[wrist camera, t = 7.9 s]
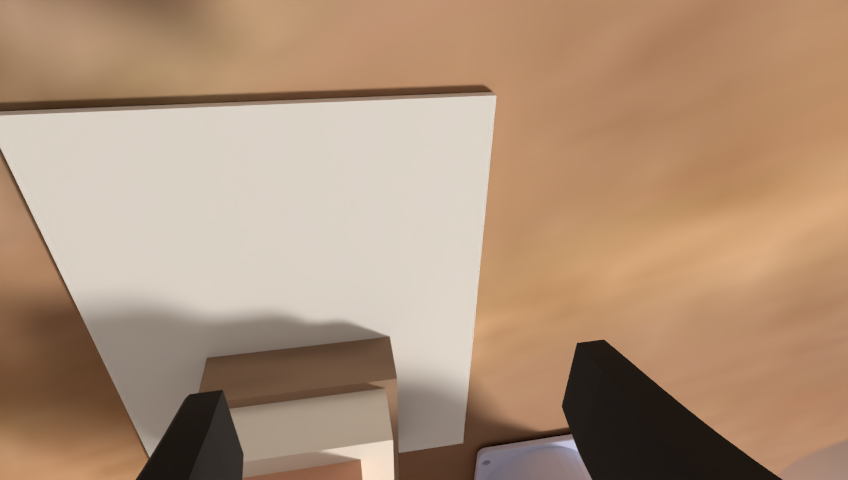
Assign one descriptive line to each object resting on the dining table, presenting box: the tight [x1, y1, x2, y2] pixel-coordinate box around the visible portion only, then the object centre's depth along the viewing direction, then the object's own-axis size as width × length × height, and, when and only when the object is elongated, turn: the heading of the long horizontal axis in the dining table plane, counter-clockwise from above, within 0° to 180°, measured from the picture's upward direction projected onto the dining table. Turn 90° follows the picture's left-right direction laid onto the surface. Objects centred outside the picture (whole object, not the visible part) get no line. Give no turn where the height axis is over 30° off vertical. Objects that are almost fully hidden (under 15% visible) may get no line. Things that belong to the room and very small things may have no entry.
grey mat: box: [0, 92, 496, 457], centre depth 22 cm, size 20×16×1 cm
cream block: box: [229, 388, 394, 480], centre depth 21 cm, size 7×7×2 cm
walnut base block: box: [198, 337, 399, 480], centre depth 24 cm, size 8×8×2 cm
